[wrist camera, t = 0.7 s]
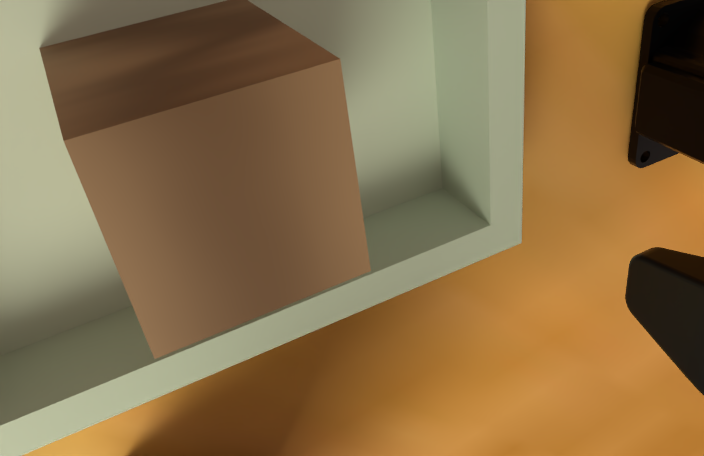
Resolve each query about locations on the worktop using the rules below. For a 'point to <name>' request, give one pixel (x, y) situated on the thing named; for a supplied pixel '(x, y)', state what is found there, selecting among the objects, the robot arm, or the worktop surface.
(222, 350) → the crate
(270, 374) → the worktop surface
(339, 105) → the walnut block
